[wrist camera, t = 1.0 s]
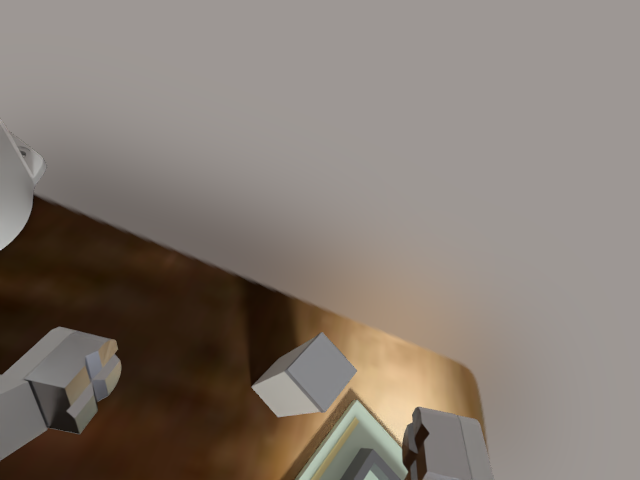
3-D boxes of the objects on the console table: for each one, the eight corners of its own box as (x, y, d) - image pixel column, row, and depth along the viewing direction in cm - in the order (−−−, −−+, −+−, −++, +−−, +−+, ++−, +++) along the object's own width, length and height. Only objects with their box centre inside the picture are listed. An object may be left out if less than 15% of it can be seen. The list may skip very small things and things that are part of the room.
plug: (250, 386, 37) (287, 369, 27) (282, 353, 40) (326, 327, 30) (278, 417, 37) (325, 412, 27) (308, 382, 39) (361, 365, 29)
